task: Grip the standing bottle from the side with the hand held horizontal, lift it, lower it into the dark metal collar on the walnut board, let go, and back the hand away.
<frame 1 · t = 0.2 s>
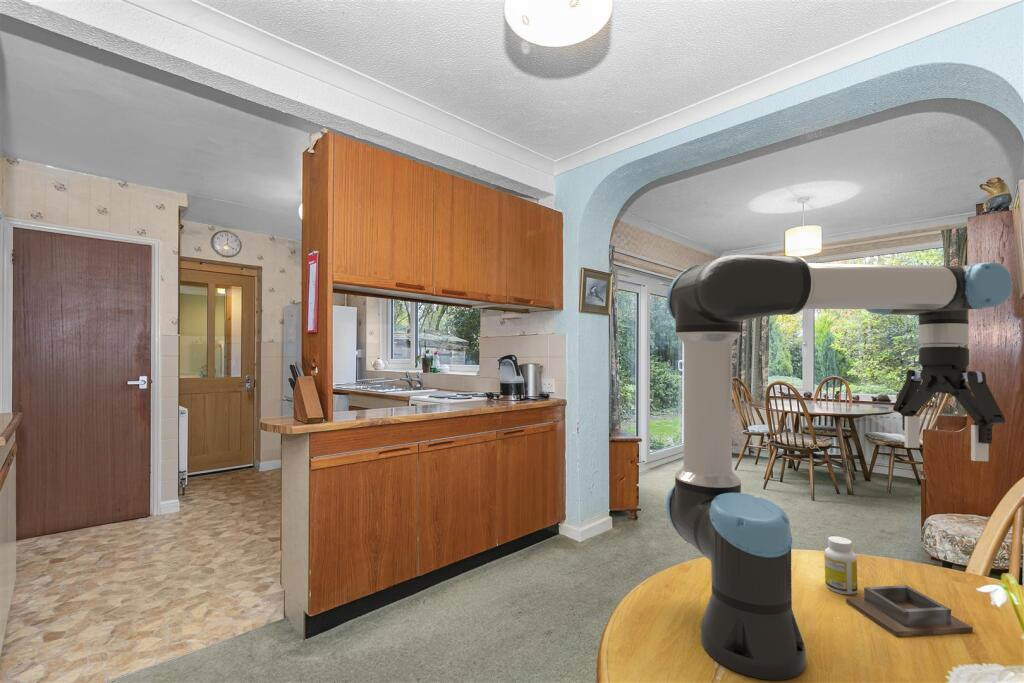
hand: (943, 453, 96), 27 cm above the table, tool pointing down, fingers open, 13 cm apart
supplement bottle: (841, 589, 98), on the table
collar holder: (905, 616, 88), on the table
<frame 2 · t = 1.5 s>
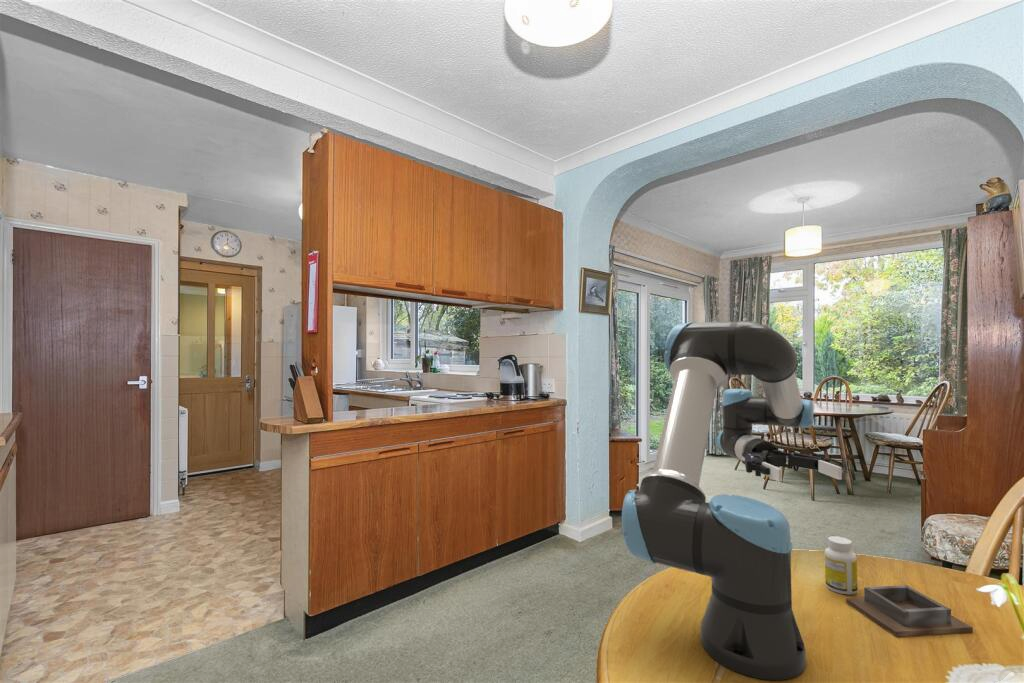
hand: (810, 474, 107), 21 cm above the table, tool horizontal, fingers open, 13 cm apart
nothing on the table moved.
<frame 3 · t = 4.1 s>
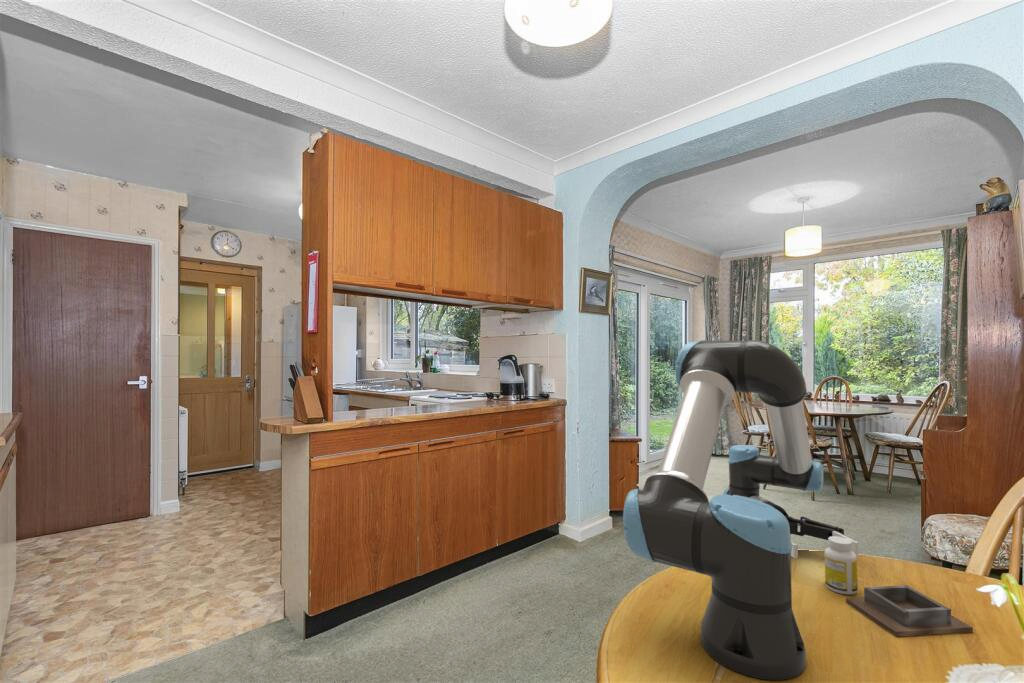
hand: (826, 550, 103), 6 cm above the table, tool horizontal, fingers open, 13 cm apart
nothing on the table moved.
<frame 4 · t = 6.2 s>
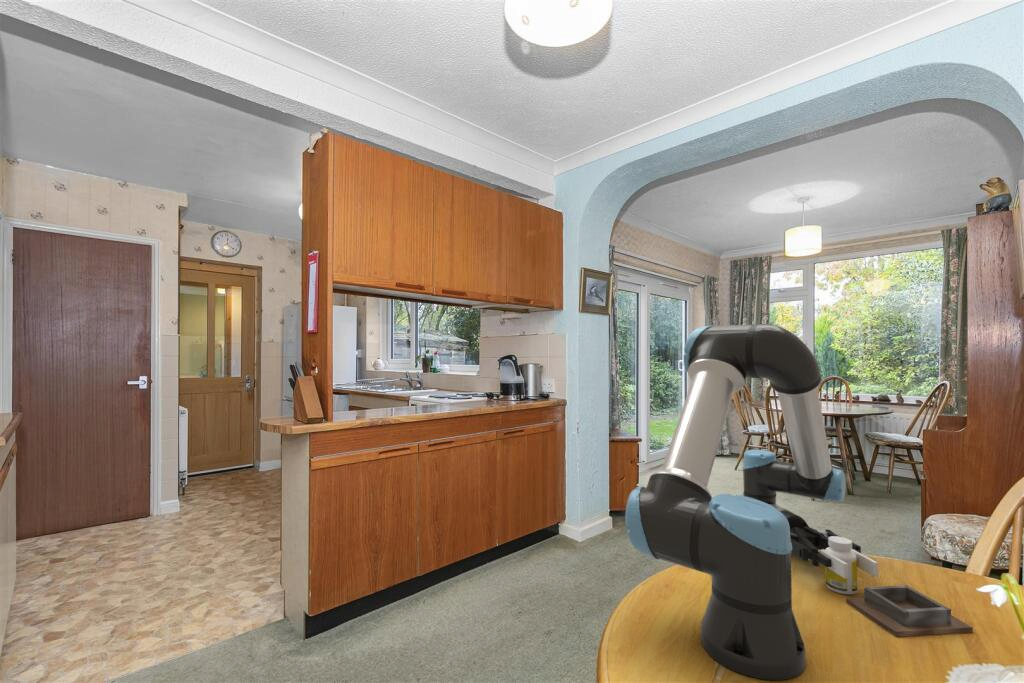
hand: (861, 570, 93), 6 cm above the table, tool horizontal, fingers closed on supplement bottle, 5 cm apart
supplement bottle: (841, 589, 98), on the table, touching gripper
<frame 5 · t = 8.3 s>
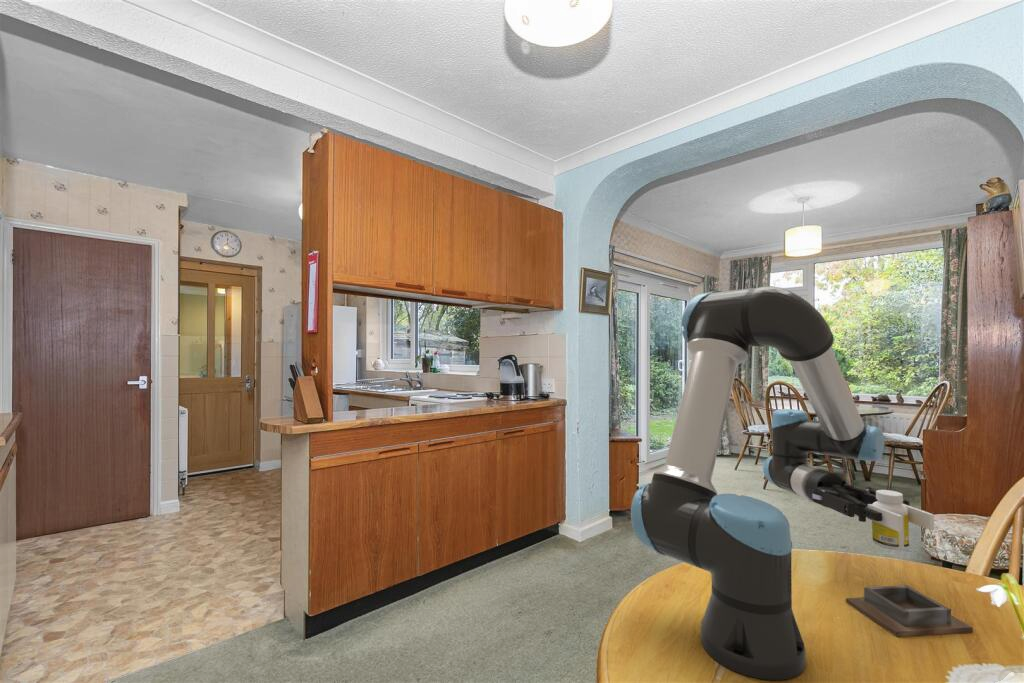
hand: (916, 522, 85), 18 cm above the table, tool horizontal, fingers closed on supplement bottle, 5 cm apart
supplement bottle: (890, 546, 91), point 11 cm above the table, touching gripper
when the fingers open (8 cm above the table, at t = 10.6 s): supplement bottle drops 2 cm, resting on collar holder.
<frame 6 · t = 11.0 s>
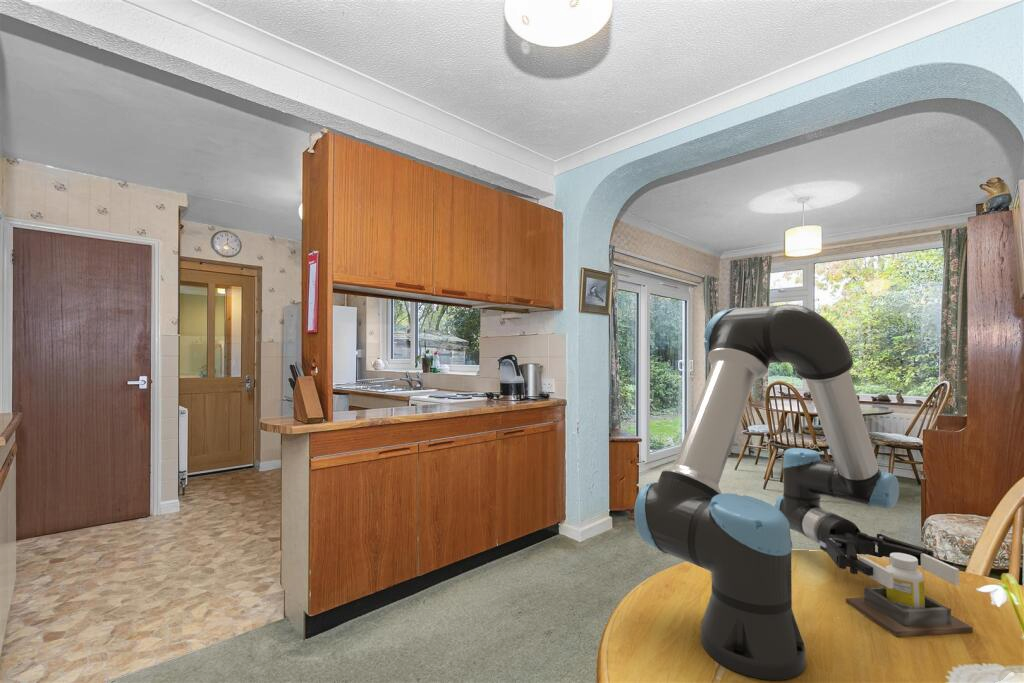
hand: (924, 578, 84), 8 cm above the table, tool horizontal, fingers open, 11 cm apart
supplement bottle: (905, 612, 88), point 1 cm above the table, touching collar holder
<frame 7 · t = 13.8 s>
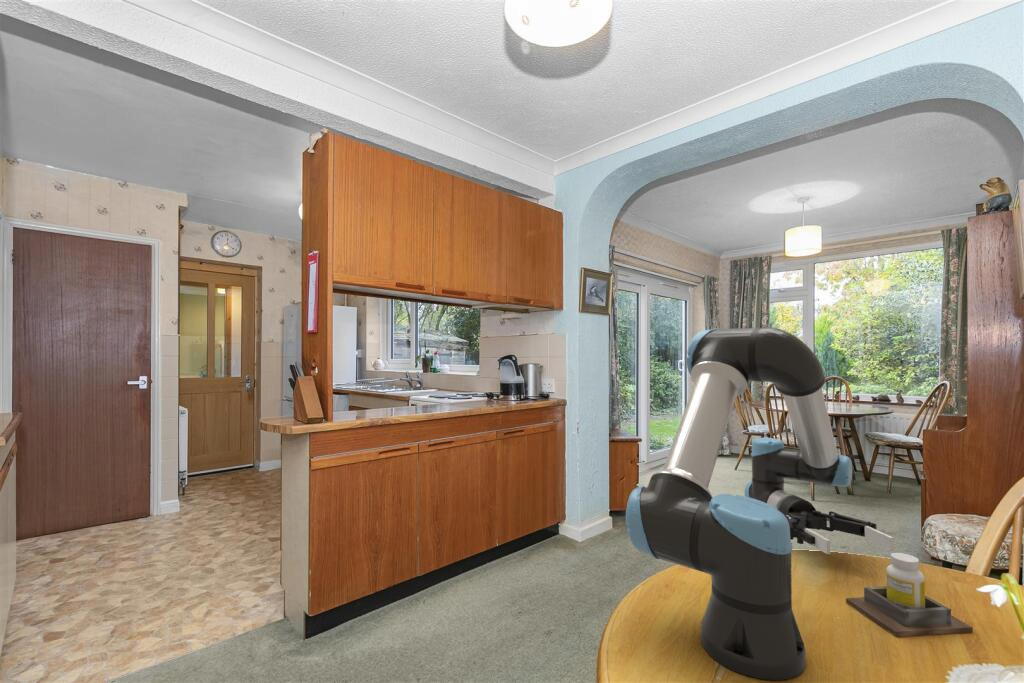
hand: (860, 545, 98), 9 cm above the table, tool horizontal, fingers open, 13 cm apart
nothing on the table moved.
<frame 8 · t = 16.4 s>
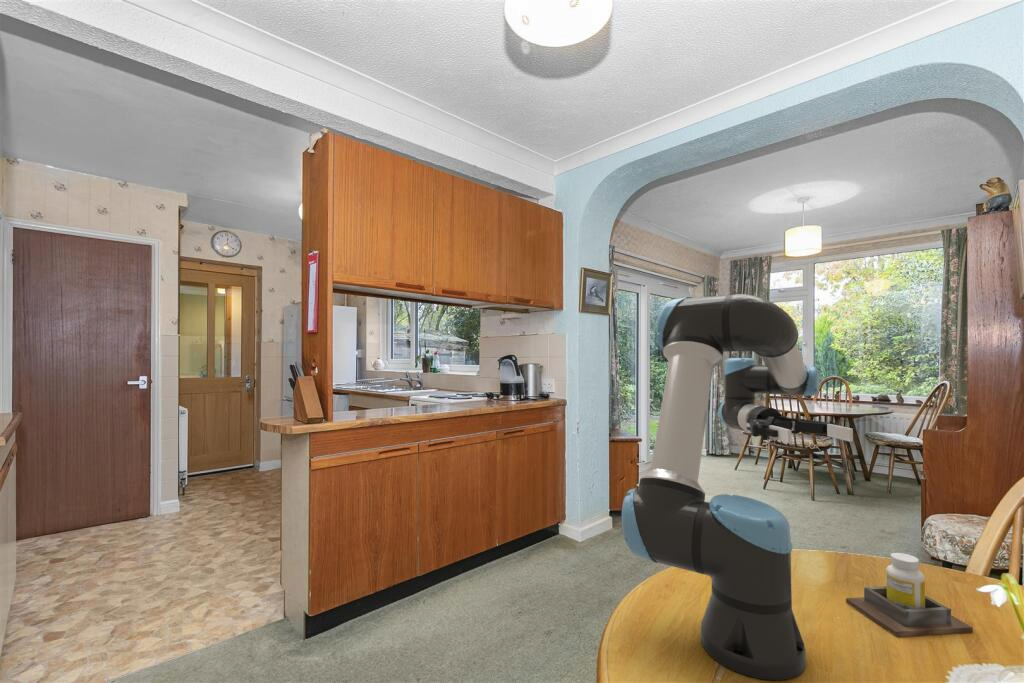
hand: (820, 435, 102), 30 cm above the table, tool horizontal, fingers open, 13 cm apart
nothing on the table moved.
at the end: supplement bottle 0.0 cm from the collar holder (horizontally); supplement bottle point 0.6 cm above the table; supplement bottle tilted 1° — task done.
